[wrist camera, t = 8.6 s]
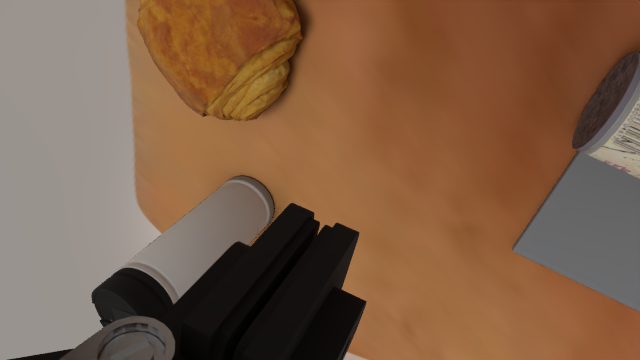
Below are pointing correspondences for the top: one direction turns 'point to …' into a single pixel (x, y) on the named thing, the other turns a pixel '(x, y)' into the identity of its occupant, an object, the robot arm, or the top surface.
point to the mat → (590, 229)
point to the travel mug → (184, 252)
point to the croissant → (222, 51)
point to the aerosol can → (614, 119)
